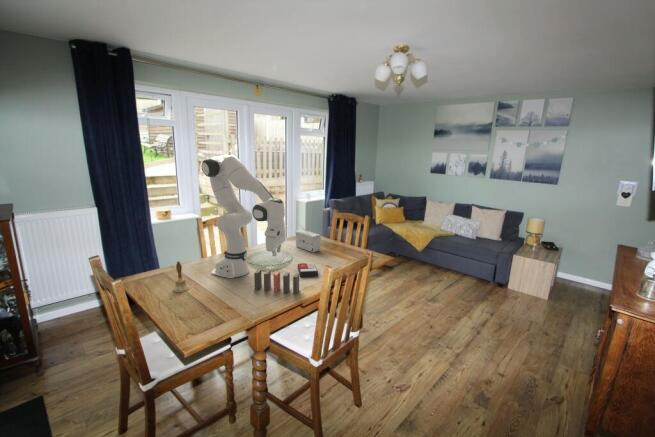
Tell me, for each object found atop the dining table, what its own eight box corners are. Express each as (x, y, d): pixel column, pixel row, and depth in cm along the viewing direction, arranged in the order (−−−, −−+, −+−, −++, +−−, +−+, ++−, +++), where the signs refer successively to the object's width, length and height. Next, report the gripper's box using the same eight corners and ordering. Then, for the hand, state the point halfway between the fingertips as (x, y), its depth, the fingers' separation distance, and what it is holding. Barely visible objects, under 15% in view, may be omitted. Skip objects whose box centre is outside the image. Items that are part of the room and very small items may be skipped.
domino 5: (293, 294, 166) (293, 276, 163) (295, 289, 171) (295, 273, 168) (296, 294, 165) (296, 277, 163) (299, 290, 170) (299, 273, 168)
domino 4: (283, 293, 167) (283, 275, 164) (286, 288, 172) (286, 272, 169) (286, 293, 166) (286, 276, 164) (289, 289, 171) (289, 272, 169)
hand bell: (181, 293, 163) (178, 265, 159) (169, 290, 166) (166, 263, 162) (193, 287, 171) (190, 260, 167) (181, 284, 174) (178, 257, 170)
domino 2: (264, 290, 169) (263, 273, 166) (267, 286, 173) (267, 270, 171) (267, 291, 168) (267, 274, 166) (270, 287, 173) (270, 270, 171)
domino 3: (273, 291, 168) (273, 274, 165) (276, 287, 173) (276, 271, 170) (277, 292, 167) (277, 275, 165) (280, 288, 172) (280, 271, 170)
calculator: (314, 262, 203) (317, 270, 188) (314, 268, 203) (317, 276, 189) (297, 263, 201) (300, 270, 186) (297, 269, 201) (300, 277, 187)
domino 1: (254, 289, 170) (254, 272, 167) (258, 285, 174) (257, 269, 172) (258, 290, 169) (257, 273, 167) (261, 286, 174) (261, 269, 172)
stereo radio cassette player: (320, 250, 234) (321, 225, 230) (313, 253, 228) (313, 227, 224) (302, 244, 248) (302, 220, 243) (294, 246, 242) (294, 222, 237)
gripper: (277, 223, 172) (277, 247, 175) (263, 233, 153) (263, 260, 156) (288, 224, 171) (288, 248, 174) (275, 234, 152) (275, 261, 155)
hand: (276, 253), depth 165 cm, fingers open, 5 cm apart
